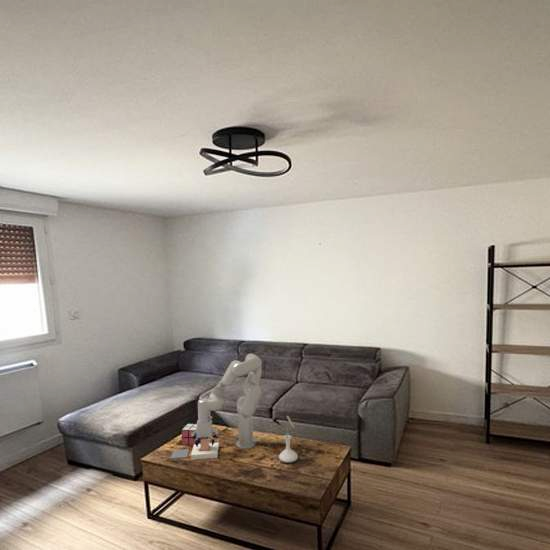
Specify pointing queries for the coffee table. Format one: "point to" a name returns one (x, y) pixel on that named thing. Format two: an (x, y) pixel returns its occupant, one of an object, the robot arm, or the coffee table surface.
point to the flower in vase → (288, 448)
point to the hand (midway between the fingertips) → (204, 445)
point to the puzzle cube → (189, 434)
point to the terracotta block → (205, 444)
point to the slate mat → (179, 454)
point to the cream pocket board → (205, 452)
